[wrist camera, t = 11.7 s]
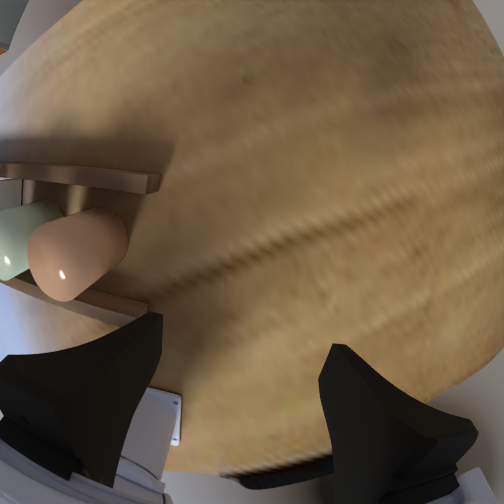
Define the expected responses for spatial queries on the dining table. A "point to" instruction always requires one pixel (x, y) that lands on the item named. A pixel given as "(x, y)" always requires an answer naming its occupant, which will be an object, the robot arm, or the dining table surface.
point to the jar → (76, 251)
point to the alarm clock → (9, 20)
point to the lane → (123, 180)
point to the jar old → (21, 234)
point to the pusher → (10, 193)
